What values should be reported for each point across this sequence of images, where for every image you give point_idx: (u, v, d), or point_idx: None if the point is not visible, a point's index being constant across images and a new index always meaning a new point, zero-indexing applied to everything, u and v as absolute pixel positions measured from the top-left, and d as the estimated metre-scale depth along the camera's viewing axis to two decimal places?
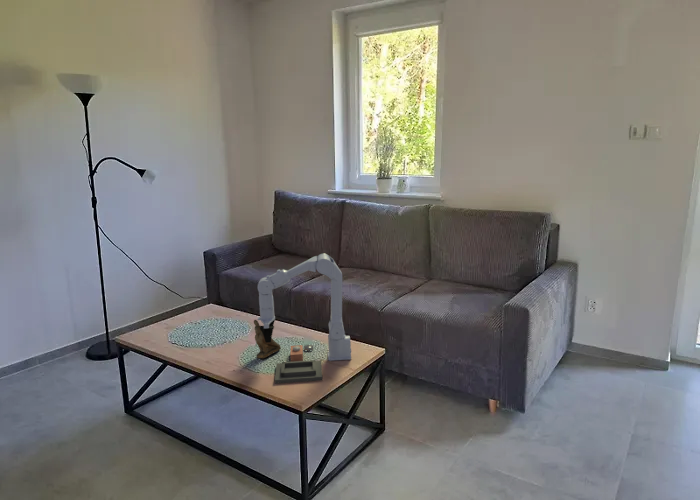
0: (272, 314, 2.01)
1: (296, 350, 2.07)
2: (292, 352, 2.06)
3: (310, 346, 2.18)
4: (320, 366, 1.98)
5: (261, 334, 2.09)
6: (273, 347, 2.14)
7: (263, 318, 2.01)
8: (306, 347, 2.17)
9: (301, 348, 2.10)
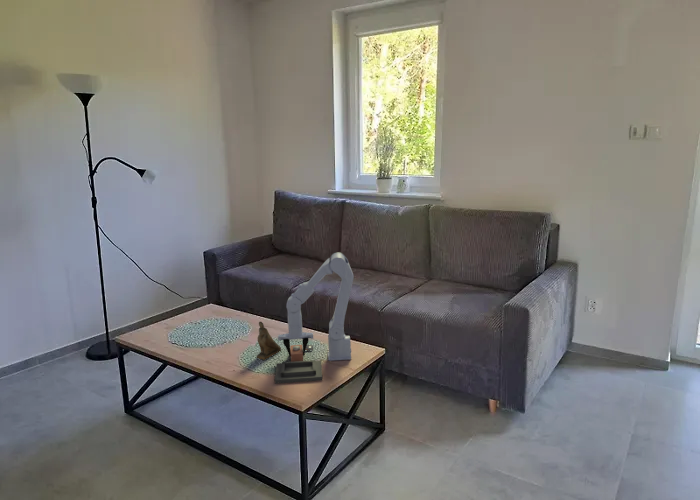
0: (291, 333, 2.04)
1: (296, 349, 2.07)
2: (292, 352, 2.06)
3: (310, 346, 2.18)
4: (320, 366, 1.98)
5: (264, 336, 2.08)
6: (274, 349, 2.14)
7: None
8: (306, 347, 2.17)
9: (301, 347, 2.10)
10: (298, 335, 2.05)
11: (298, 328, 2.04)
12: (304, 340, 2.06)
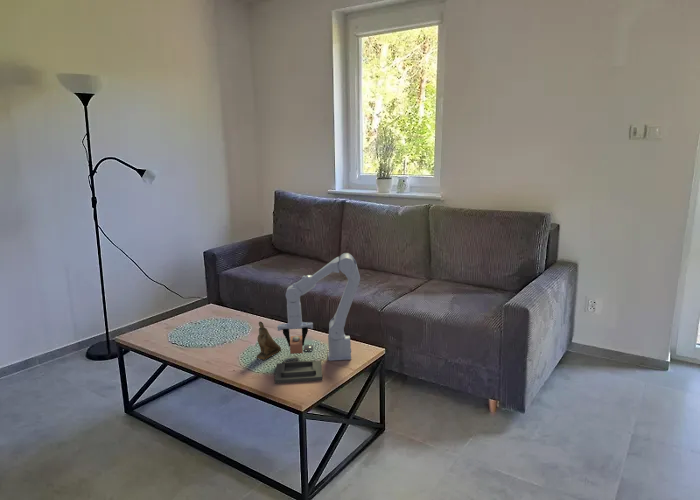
0: (290, 322, 2.03)
1: (296, 340, 2.06)
2: (292, 342, 2.05)
3: (310, 346, 2.18)
4: (320, 366, 1.98)
5: (264, 336, 2.08)
6: (274, 349, 2.14)
7: None
8: (306, 347, 2.17)
9: (301, 338, 2.09)
10: (297, 325, 2.04)
11: (297, 318, 2.03)
12: (304, 330, 2.05)
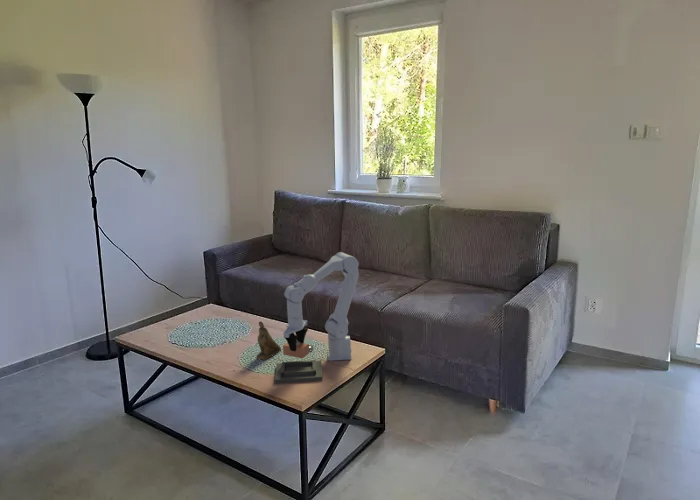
0: (298, 324, 1.94)
1: (298, 344, 1.98)
2: (298, 347, 1.97)
3: (310, 346, 2.18)
4: (320, 366, 1.98)
5: (264, 336, 2.08)
6: (274, 349, 2.14)
7: (289, 326, 1.96)
8: None
9: None
10: (302, 324, 1.97)
11: None
12: (304, 328, 2.00)
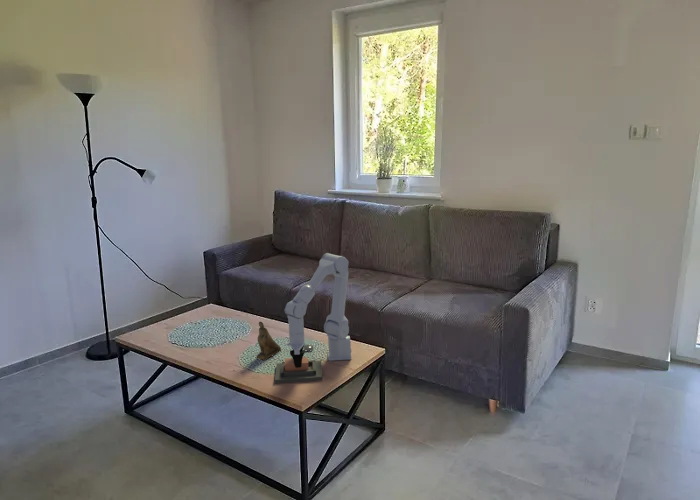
0: (302, 339, 1.91)
1: None
2: (302, 362, 1.93)
3: (310, 346, 2.18)
4: (320, 366, 1.98)
5: (264, 336, 2.08)
6: (274, 349, 2.14)
7: (293, 343, 1.90)
8: (306, 347, 2.17)
9: None
10: None
11: None
12: None
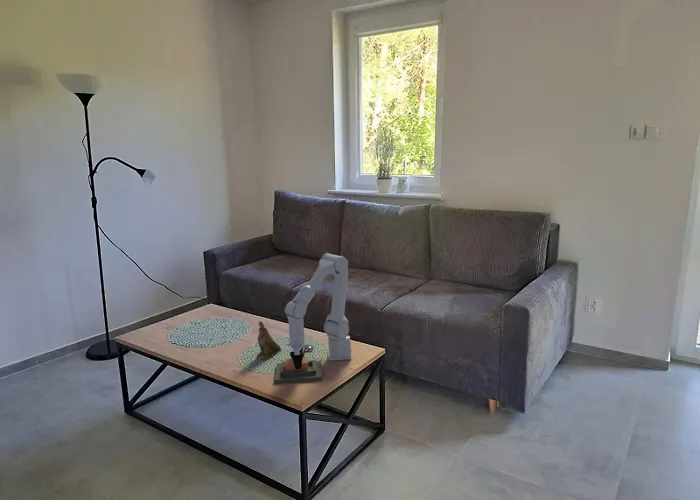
0: (302, 339, 1.91)
1: None
2: (302, 362, 1.93)
3: (310, 346, 2.18)
4: (320, 366, 1.98)
5: (264, 336, 2.08)
6: (274, 349, 2.14)
7: (293, 344, 1.90)
8: (306, 347, 2.17)
9: None
10: None
11: None
12: None
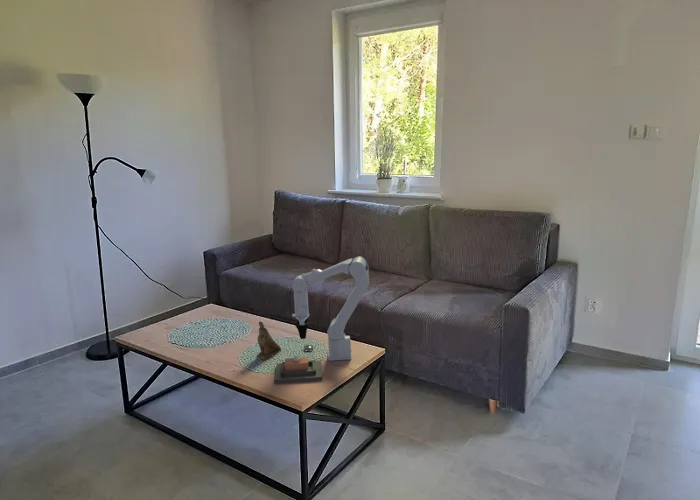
0: (307, 311, 2.06)
1: (300, 359, 1.95)
2: (302, 362, 1.93)
3: (310, 346, 2.18)
4: (320, 366, 1.98)
5: (264, 336, 2.08)
6: (274, 349, 2.14)
7: (298, 315, 2.05)
8: (306, 347, 2.17)
9: None
10: None
11: None
12: None
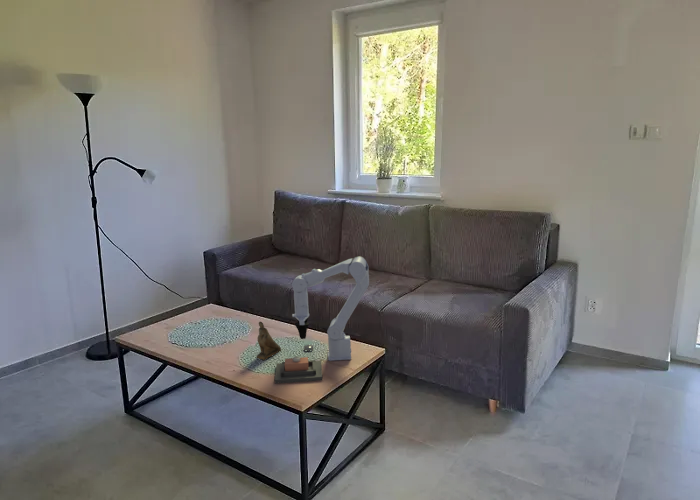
0: (307, 311, 2.06)
1: (300, 359, 1.95)
2: (302, 362, 1.93)
3: (310, 346, 2.18)
4: (320, 366, 1.98)
5: (264, 336, 2.08)
6: (274, 349, 2.14)
7: (298, 315, 2.05)
8: (306, 347, 2.17)
9: None
10: None
11: None
12: None
